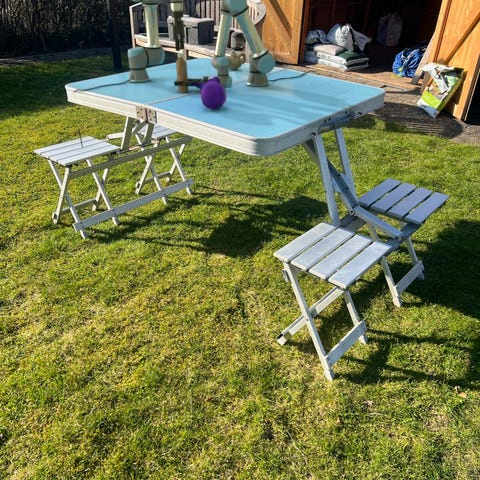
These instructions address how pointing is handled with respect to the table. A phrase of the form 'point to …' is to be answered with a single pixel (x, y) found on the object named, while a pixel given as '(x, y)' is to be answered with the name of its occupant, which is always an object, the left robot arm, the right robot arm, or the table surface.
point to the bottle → (182, 74)
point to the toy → (211, 93)
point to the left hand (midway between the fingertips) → (180, 49)
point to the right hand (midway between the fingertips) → (175, 82)
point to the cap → (180, 55)
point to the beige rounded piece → (236, 60)
